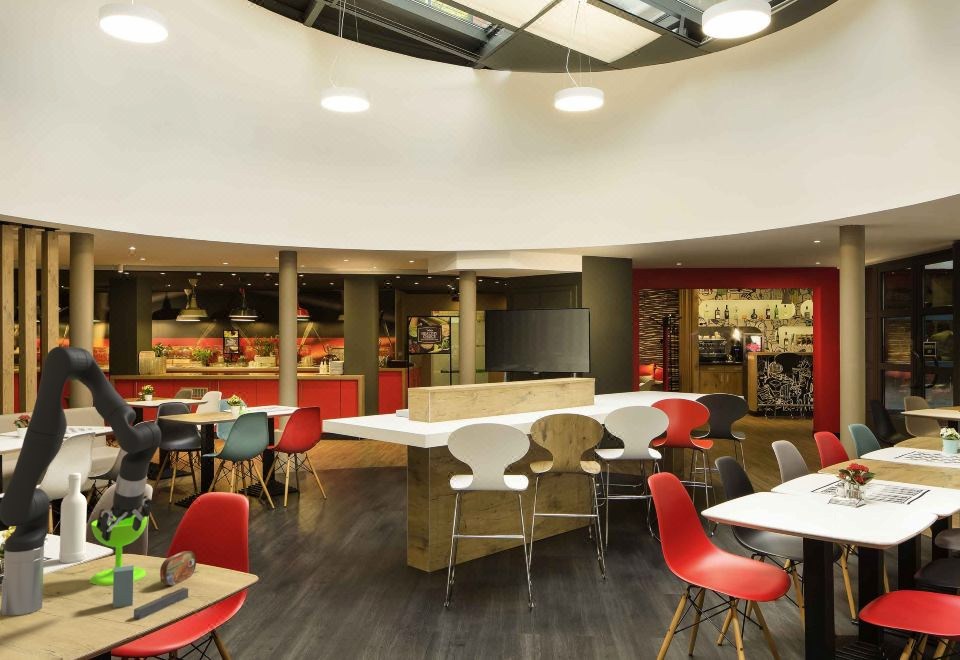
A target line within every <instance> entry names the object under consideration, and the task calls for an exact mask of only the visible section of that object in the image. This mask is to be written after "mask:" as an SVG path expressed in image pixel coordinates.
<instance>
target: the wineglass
mask: <svg viewBox="0 0 960 660" xmlns="http://www.w3.org/2000/svg"><path fill="white" fill-rule="evenodd" d="M134 517H136V516H135V515H133V516H132V517H131V518H126V519H124V520H122V521H120V522H119V523H118V524H117V525H115V526H114V527H113V528H112V529H111V536H110V540H109V541H107V542H106V541H105V540H104V539H103V538H102V532H101V531H100V530H99V529H98V528H97V527H96V525H97V521H98V519H95V520H94V521H92V522H91V530H92V533H93V535H94V537H95V539H96V540H97V541H99V543H101V544H103V545H105V546H108V547H112V548H115V564H114V568H116V567H124V566H123V547H125V546H126V545H127V546H128V545H129V544H132V543H134V542H135V541H136V540H137V539H139V537H140V536H141V535H142V534H143V533H144V531H145V528H146V526H147V523H148V517H144V519H143V520H142V523H141V527H140V528H139V530H138V531H135V530H134V529H133V528H132V526H133V521H134ZM113 519H114V520H116V519H117V518H116V517H115V516H114V517H113ZM110 524H111V522H110V523H109V525H110ZM114 568H110V569H105V570H102V571H99V572H98V573H95V574H94V575H93V576H92V577H90V580H89V583H90V582H91V583H93V584H97V585H96V586H98V585H112V586H113V575H114ZM145 575H147V572H146V571H145V570H144V569H143V568H140V567H137V566H136V567H134V577H133V581H134V582H136V581H135V580H137V581H139V580H141V579H143V578H144V576H145ZM142 577H143V578H142ZM145 577H146V576H145ZM140 578H141V579H140ZM138 579H139V580H138ZM91 583H90V584H91ZM93 584H92V585H93Z"/></svg>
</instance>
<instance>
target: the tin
mask: <svg viewBox="0 0 960 660" xmlns="http://www.w3.org/2000/svg"><path fill="white" fill-rule="evenodd" d="M196 565H197V558H196V555H195V553H194V552H193V551H191V550H188V551H186V550H185V551H181V552H179V553H176V554H175V555H172V556H170V557H168V558H166V559H164V561H163V562H162V563H161V566H160V568H159V569H160V571H159V572H160V573H159V574H160V575H159V577H160V582H161V583H162V584H163V585H164V586H173V585H174V586H176V585H177V584H178V585H179V583H181V582H183V581H185V580H187V579H189V578H190V577H192V575H193V574H194V573H195V571H196Z"/></svg>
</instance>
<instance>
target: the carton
mask: <svg viewBox="0 0 960 660" xmlns="http://www.w3.org/2000/svg"><path fill="white" fill-rule="evenodd" d="M113 569H114V575H113V585H112V589H113V590H112V593H113V594H112V609H115V608H114V607H116V608H122V607H121V606H123V607H127V606H128V607H129V605H130V606H133V604H134V582H133V577H134V564H133V565H127V566H125V565H124V566H123V567H116V568H115V567H113Z"/></svg>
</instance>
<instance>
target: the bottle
mask: <svg viewBox="0 0 960 660" xmlns="http://www.w3.org/2000/svg"><path fill="white" fill-rule="evenodd" d="M67 479H68V490H67V491H68V493H67V495H66V496H64V497H63V499H62V501H61V503H60V504H61V505H60V530H59V531H60V533H59V534H60V535H59V562H60V563H61V564H74V563H79V562H82V561H83V560H85V559H86V555H87V549H86V547H87V545H86V544H87V539H86V538H87V511H88V510H87V508H88V507H87V504H88V502H87V499H86V497H85V496H86V495H85V496H84V495H83V494H82V493H81V480H82V474H81V473H80V472H70V473H69V474H68V478H67Z"/></svg>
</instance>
